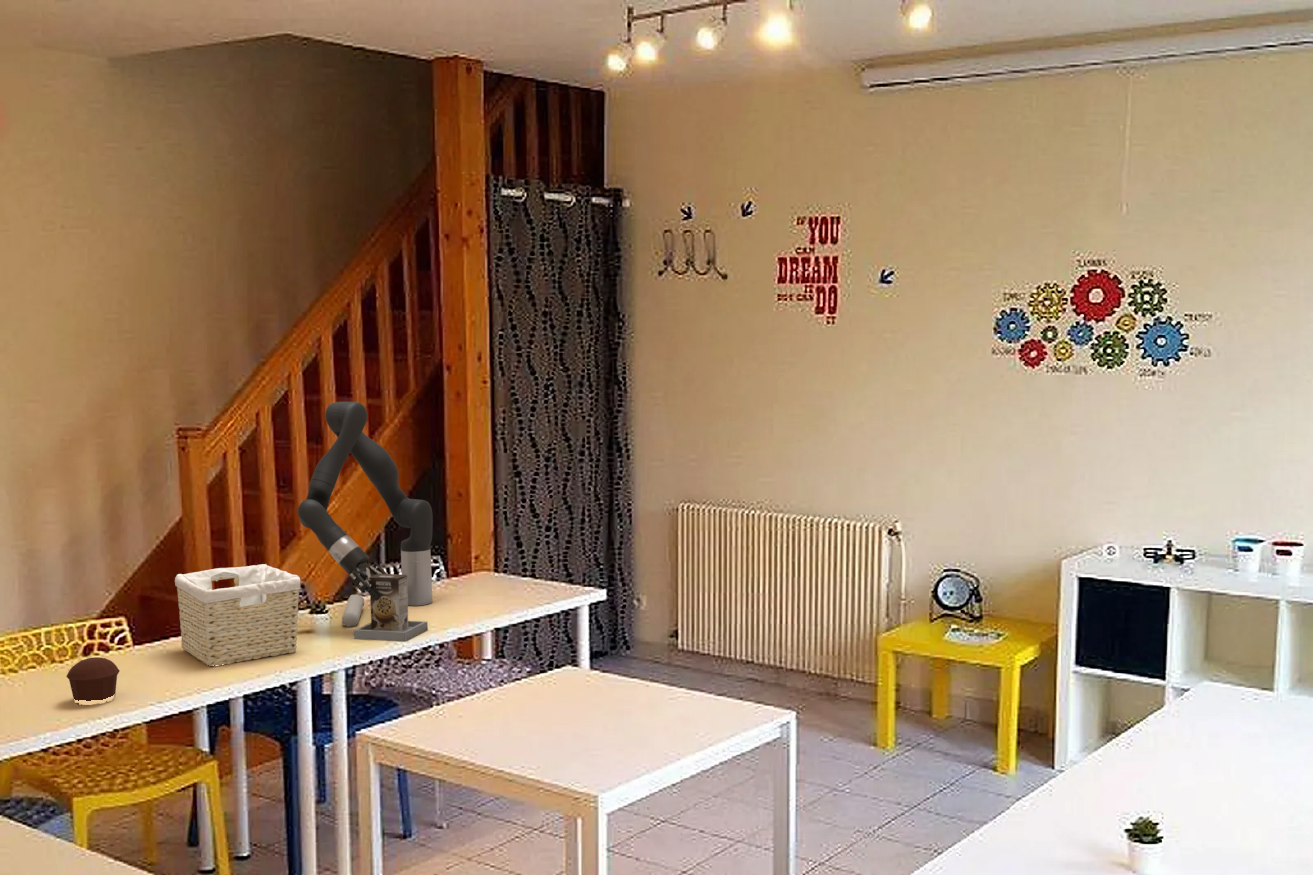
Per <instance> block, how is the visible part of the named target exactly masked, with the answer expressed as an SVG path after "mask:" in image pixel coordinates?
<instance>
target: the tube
mask: <svg viewBox="0 0 1313 875" xmlns="http://www.w3.org/2000/svg"><path fill="white" fill-rule="evenodd" d="M345 605H346V606H345V609H344V612H343V613H342V617H341V621H342V625H344V626H345V627H347V628H351V627H352V628H353V627H356V626H357V624H358V623H359V621H360V617H361V614H362V612H363V611H362V610H363V607H364V605H365V598H364V597H363V596H362V595H360V594H351V595H350V596H349V597H348V599H347V601H346V604H345Z"/></svg>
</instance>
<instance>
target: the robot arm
mask: <svg viewBox="0 0 1313 875" xmlns="http://www.w3.org/2000/svg"><path fill="white" fill-rule="evenodd" d="M325 420H326V424H327V425H328V428H329V429H330V430H331V431H332V433H334V435H335V436H336V438H337V439H336V440H335V441H334V443H333V444H332V445H331V447H330V448H329V449H328V450H327V452H326V453H325V454H324V455H323V456H322V457H321V458H320V460H319V461H318V462H317V464H316V466H315V469H314V471H313V474H312V476H311V478H310V481H309V485H308V490H307V491H308V492H307V496H306V499H304V500H303V501H302V502H300V504H299V505H298V508H297V515H298V518H299V521H300V523H301V525H302V526H303V527H305V528H306V529H310V530H311V531H312V532H313V533H314V534H315V536H316V538H317V539H318V541H319V542H320V543H321V545H322V546H323V547H324V548H325V549H326V550H327V552H329V554H330V555H331V557H332V558H333V559H334V561H336V562H337V564H338V565H339V566H340V567H341V568H342V569H343V570H344V572H346V573H347V574H348V578H349V579H350V581H351V582H352V583H353V585H355V587H356V588H357V589H358V590H359V591H360V592H361V593H362V592H365V593H368V594H369V595H371V596H372V597H373V598H374V599H375V600H376V601H377V600H379V599H380V598H381V596H382V595H381V594H380V593H379V592H378V591H377V589H376V588H375V587H374V586H373V585H372V582H371V579H370V577H371V576H374V575H377V574H388V573H387V572H386V571H385V570H384V569H383V568H382V567H381V566H380V564H378V563H377V562H374V563H373V564H370V563H369V559H370V558H369V555H368V554H367V553H366V552H365V551H364V550H363V549H362V548H361V546H359V544H358V543H356V541H355V540H354V539H353V538H352V537H350V536H349V535H348V533H346V532H345V530H343V529H342V527H341V526H339V525H338V523H337V522H336V521H334V519H333V518H332V516H331V515H330V513H329V512H328V507H329V504H330V499H331V496H332V493H333V492H334V489H335V486H336V484H337V481H338V479H339V475H340V473H341V470H342V468H343V467H344V464H345V462H346V461H347V458H348V457H349V455H350V454H351V455H352V457H353V459H355V460H356V461H357V462H356V463H358V464H359V466H360V467H361V469H362V471H363V472H364V474H365V475H366V476H367V478H368V479H369V481H370V482H371V484H372V485H373V487H374V488H375V489H376V491H377V493H378V494H379V495H380V497H381V498H382V499H383V502H384V503H385V504H386V506H387V508H388V510H389V512H390V514H391V516H392V517H393V520H394V521H395V522H396V524H398V526H400V527H402V528H405V529H410V535H409V537H408V538H406V539H404V540H402V541H401V542H400V562H401V564H400V565H401V575H407V591H408V606H410V607H411V606H413V607H414V606H416V607H417V606H424V605H429V604H432V603H433V579H432V578H433V577H432V574H433V573H432V557H431V554H432V553H431V543H432V541H433V523H434V522H433V509H432V506H431V504H430V503H429V501H427V500H424V499H415V498H409V497H408V496H407V494H405V493H404V491H403V490H402V488H401V486H400V484H399V483H400V482H399V477H400V476H399V468H398V465H396V464H397V463H396V462H395V461H394V459H393V457H391V455H390V453H389V452H388V451H387V450H386V449H385V448H384V447H382V446H381V445H380V444H379V443H377V442H376V441H374V440H373V439H372V438H370V437H369V436H367V435H366V434H365V433H364V432H363V430H364V429H365V426H366V425H367V420H368V412H367V408H366V407H365V405H364V404H363V403H361V402H358V401H335V402H332V403H330V404H329V405H328V406H327V408H326V410H325ZM372 586H373V587H372Z"/></svg>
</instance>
